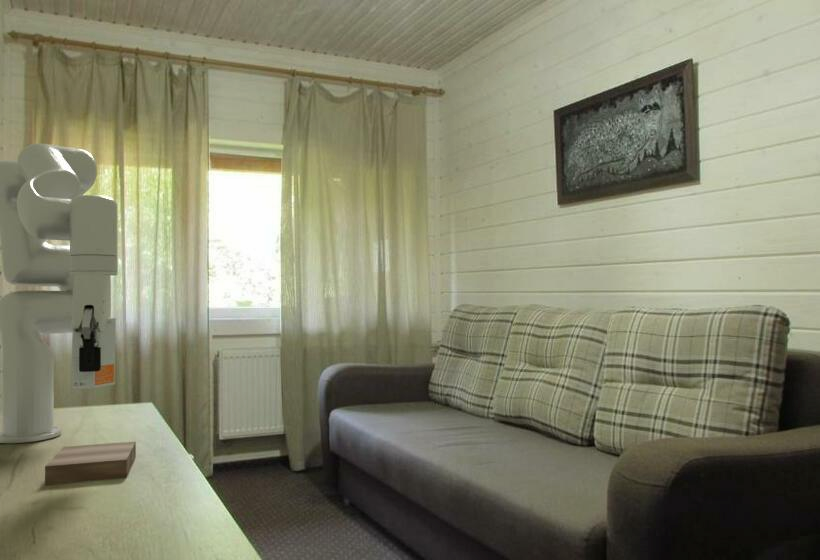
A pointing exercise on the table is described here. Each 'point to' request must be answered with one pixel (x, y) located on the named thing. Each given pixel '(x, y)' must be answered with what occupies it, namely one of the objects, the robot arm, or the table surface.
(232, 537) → the table surface
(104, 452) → the block
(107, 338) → the skincare box
